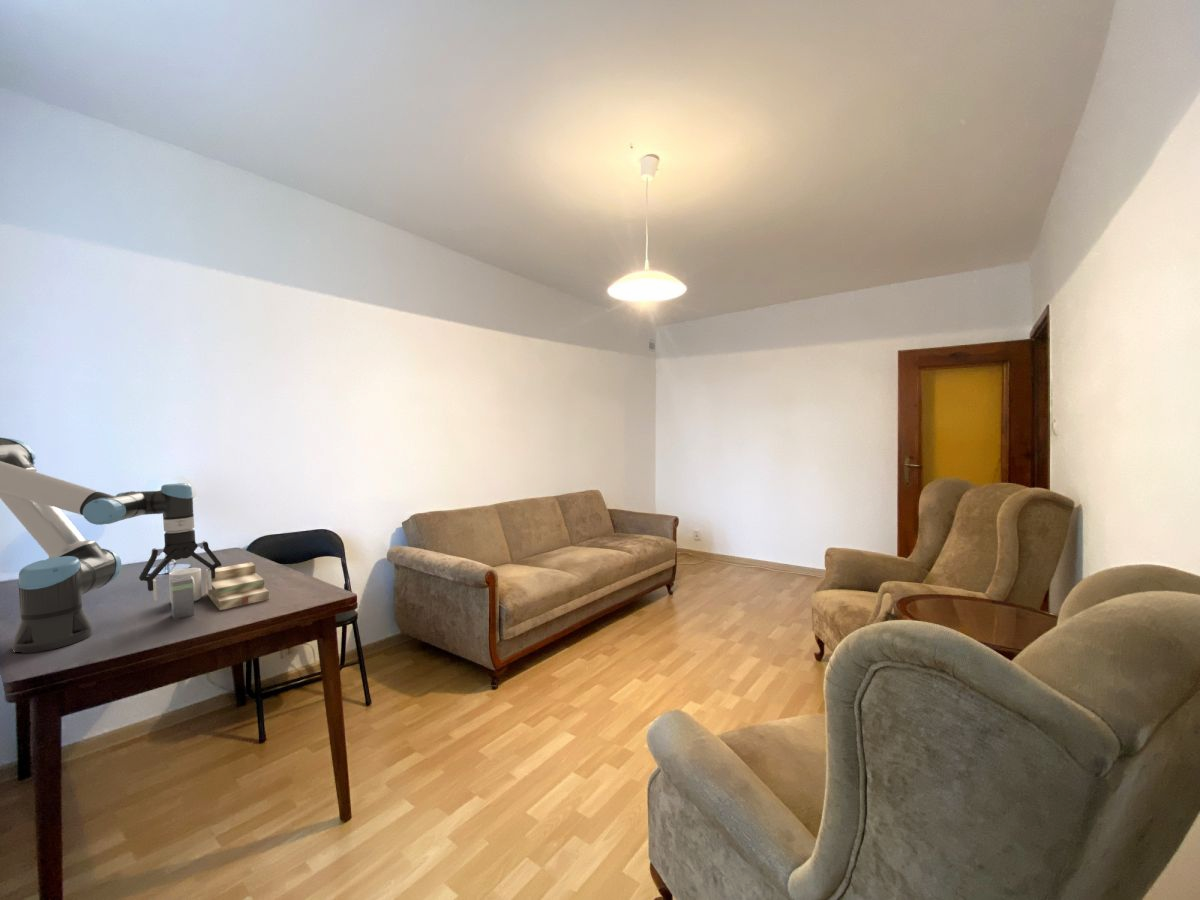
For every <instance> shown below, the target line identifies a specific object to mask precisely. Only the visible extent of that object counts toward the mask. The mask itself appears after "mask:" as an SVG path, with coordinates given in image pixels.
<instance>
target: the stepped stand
mask: <svg viewBox="0 0 1200 900" xmlns="http://www.w3.org/2000/svg"><path fill="white" fill-rule="evenodd" d="M211 580H212V589H211V590H209V589H208V585H207V569H206V570H205V586H206V587H205V588H206V595H207V596H208V598H209V599H210V600H211V601H212V602H213V604H214V605H215V606H216V608H217V609H218V610H219V611H222V610H227V609H232V608H235V607H240V606H245V605H249V604H253V603H257V602H262V601H267V600H270V594H269V592H270V591H269V590H268V589H267V588H266V587H265V579H264V578H263V577H262V576H260V575H259V574H257V573H256V564H254V563H253V562H252V561H250V562H245V563H239V564H233V565H229V566H223V567H221V566H220V567H217V568H216V569H215V578H214V579H211Z"/></svg>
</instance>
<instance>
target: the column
mask: <svg viewBox="0 0 1200 900" xmlns="http://www.w3.org/2000/svg"><path fill="white" fill-rule="evenodd" d="M170 588H171V602H170V604H171V605H170V606H171V608H170V609H171V616H172V619H173V620H177V619H181V618H186V617H192V616H194V615H195V605H194V604H195V603H194V602H195V601H194V598H193V579H192V578H191V576H187V577H182V578H176V579H170Z"/></svg>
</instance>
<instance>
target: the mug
mask: <svg viewBox="0 0 1200 900" xmlns="http://www.w3.org/2000/svg"><path fill="white" fill-rule="evenodd" d="M187 576H191V578H192V579H193V598H194V602H197V601H199V600H200V599H201V598H202V596H203V592H202V591H203V589H202V569H201V568H200V567H187V568H181V569H177V570H176V569H175V570H173V571H170V572H169V573H168V581H169V582H168V584H169V602H170V603H171V588H170V579H176V578H182V577H187Z"/></svg>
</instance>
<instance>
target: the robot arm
mask: <svg viewBox="0 0 1200 900" xmlns="http://www.w3.org/2000/svg"><path fill="white" fill-rule="evenodd" d="M35 460H36V454H35V451H34V450H33V449H32V448H31V447H30V446H29V445H28V444H27V443H24V442H23V441H21V440H17V439H14V438H8V437H0V500H1V501H2V502H3V503H4V504H5V506H6V508H8V510H9V511H10V512H11V513H12V514H13V515H14V516H15V518H16V519H17V520H18V522H20V524H21V525H22V526H23V527H24V528H25V529H26V530H27V532H28V534H30V535H31V537H32V538H33V539H34V540H35V541H36V542H37V544H38V545H39V546H40V547H41V548H42V549H43V551H44V552H45V554H47V555H48V558H47V559H41V560H38V561H34V562H32V563H29V564H27V565H25V566H23V567H22V568H21V569H20V570H19V573H18V580H17V586H18V595H19V597H18V599H19V611H20V623H19V626H18V628H17V630H16V633H15V636H14V638H13V640H12V642H11V644H12V645H11V647H12V649H13V650H14V651H15V652H22V653H21V654H31V653H32V654H33V653H37V652H38V653H39V652H44V651H45V652H46V651H49V650H54V649H58V648H62V647H67V646H70V645H73V644H76V643H79V642H82V641H83V640H85V639H87V638H89V637H90V636H91V635H93V626H92V624H91V622H90V621H89V618H88V617H87V615H86V613H85V612H84V610H83V598H82V597H83V595H84V594H86V593H89V592H91V591H94V590H97V589H100V588H103V587H104V586H106V585H107V584H109V583H111V582H113V581H114V580H115V579H116V578H117V577H118V576H119V574H120V573H121V569H122V560H121V557H120V556H119V555H118V553H117V552H115V551H113V550H111V549H107V548H102V547H101V546H100V545H99V544H98V542H97V541H96V540H88V539H86V538H85V537H84V536H83V534H82V533H80V531H79V530H78V528H77V527H76V526H75V525H74V523H72V521H71V520H70V518H68V516H67V515H66V514H65V513H64V512H63V510H64V511H66V512H70V513H72V514H73V513H74V514H77V515H79V516H80V515H81V516H83V518H84V519H85V520H86V521H87V522H88V523H90V524H93V525H96V526H98V525H99V526H100V525H101V526H102V525H110V524H114V523H116V522H117V523H118V522H120V521H124V520H127V519H132V518H135V517H140V516H145V515H161V514H162V519H163V520H162V522H163V531H164V532H165V533H163V535H164V536H163V537H164V547H163V548H156V547H155V548H152V549H151V552H150V553H151V555H150V557H149V559H148V561H147V562H146V564H145V565H144V567H143V569H142V571H141V573H140V574H139V577H138V578H139V580H140V581H141V582H143V581H145V582H146V583H147V590H148V592H152V599H153V601H154V602H157V601H158V588H157V580H156V577H157V576H158V575H159V574H160V573H161V571H162V570H164V568H165V567H166V566H167V565H168V564H169V563H170V562H172V560H174V561H177V560H180V559H188V558H190V557H192V558H194V559H195V560H197V561H198V562H199V563H201V564H203V565H204V566H206V567H207V568H208V569H206V570H207V585H208V589H209V590H211V589H212V580H211V579H214V578H215V569H216V568H221V566H222V565H223V564H222V563H221V562H220V560H219V559H218V558H217V556H216V555H215V554H214V552H213V551H212V550H211V549H210V547H209V543H208V542H207V541H206V540H203V541H201V542H196V531H195V529H194V528H195V517H194V515H195V514H194V500H193V499H194V495H193V490H192V489H193V488H192V485H191V484H189V483H188V482H187V483H186V482H181V483H179V482H177V483H168V484H167V483H166V484H163V485H161V487H160V490H150V491H134V490H133V491H125V492H119V493H117V494H116V495H111V494H108V493H106V492H101V491H98V490H96V489H92V488H89V487H85V486H82V485H81V484H80V485H79V484H76V483H74V482H69V481H66V480H63V479H60V478H57V477H53V476H50V475H46V474H44V473H40V472H37V471H38V470H37V468H36V467H35V463H36V462H35ZM197 548H200V549H201V550H203V551H204V552H205V553H206V554H207V555H208V557H209V558H210V559H211V561H212V562H213V564H212V563H210V562H209V561H208V560H206V559H205V558H204V557H202V556H200V555H199V554H198V553H196V552H195V551H196V550H197ZM162 553H164V554H165V557H164V558H163V559H162V561H161V562H160V563H159V564H158V565H157V566H156V567H155V568H154V570H153V571H151V570H152V568H153V566H154V564H155V562H156V560H157V558H158V556H161V554H162ZM150 571H151V573H150V574H149V572H150ZM12 649H11V650H12ZM15 652H14V653H15Z"/></svg>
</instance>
